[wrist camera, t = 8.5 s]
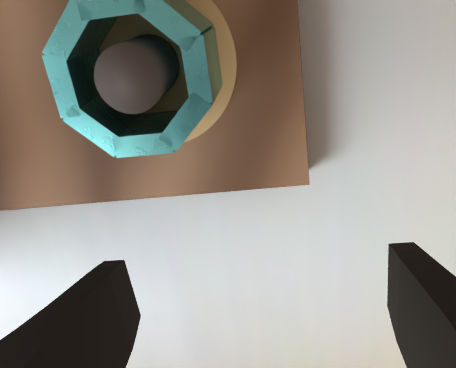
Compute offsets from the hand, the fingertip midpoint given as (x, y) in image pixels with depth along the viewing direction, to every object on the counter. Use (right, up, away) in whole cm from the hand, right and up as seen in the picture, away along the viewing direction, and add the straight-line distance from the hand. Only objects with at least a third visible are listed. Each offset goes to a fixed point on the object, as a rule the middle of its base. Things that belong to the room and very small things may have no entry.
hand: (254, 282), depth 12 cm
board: (-7, +8, +7) cm, 13 cm away
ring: (-4, +8, +5) cm, 10 cm away
